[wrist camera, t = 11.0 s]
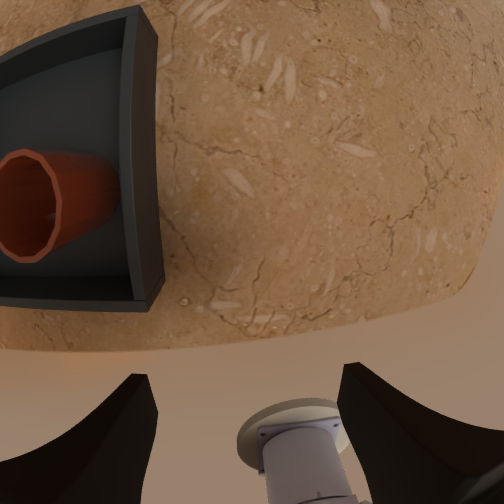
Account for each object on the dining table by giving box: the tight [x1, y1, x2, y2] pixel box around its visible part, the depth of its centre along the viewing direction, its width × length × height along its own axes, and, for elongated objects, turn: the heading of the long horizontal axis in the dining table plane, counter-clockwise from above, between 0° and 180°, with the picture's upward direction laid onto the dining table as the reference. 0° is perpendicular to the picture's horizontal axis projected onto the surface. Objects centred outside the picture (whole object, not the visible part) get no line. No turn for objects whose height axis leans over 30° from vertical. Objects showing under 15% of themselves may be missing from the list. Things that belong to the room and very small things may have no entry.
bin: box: [0, 5, 166, 312], centre depth 14 cm, size 16×16×5 cm
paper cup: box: [0, 148, 120, 263], centre depth 13 cm, size 5×5×7 cm
